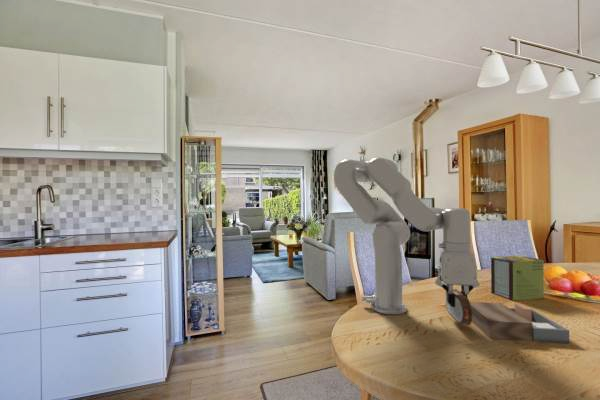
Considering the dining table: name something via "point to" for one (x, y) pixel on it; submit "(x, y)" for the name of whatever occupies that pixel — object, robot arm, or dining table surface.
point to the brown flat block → (500, 322)
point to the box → (547, 330)
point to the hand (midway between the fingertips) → (457, 305)
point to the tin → (460, 308)
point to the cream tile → (542, 325)
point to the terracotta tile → (523, 311)
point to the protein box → (517, 277)
